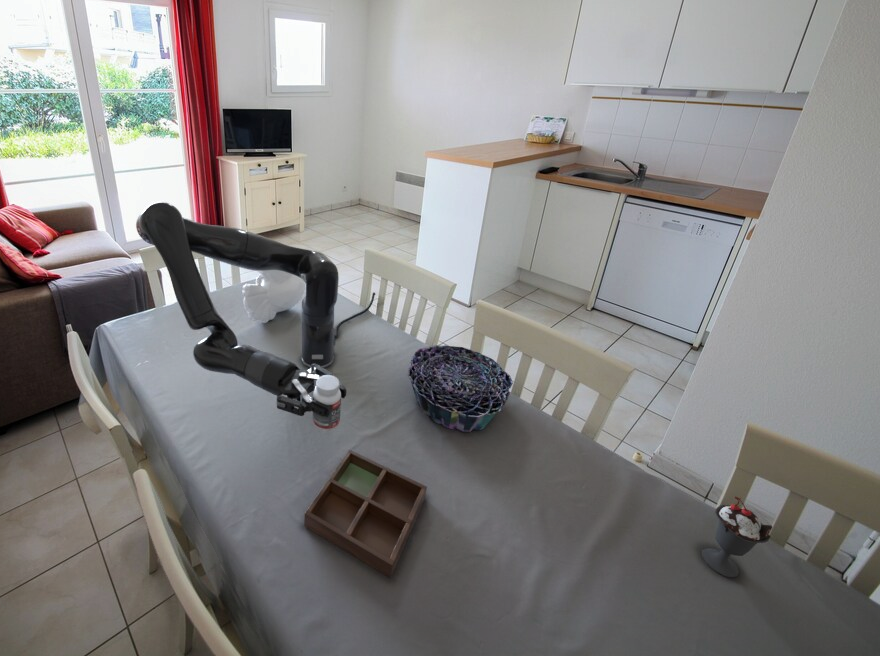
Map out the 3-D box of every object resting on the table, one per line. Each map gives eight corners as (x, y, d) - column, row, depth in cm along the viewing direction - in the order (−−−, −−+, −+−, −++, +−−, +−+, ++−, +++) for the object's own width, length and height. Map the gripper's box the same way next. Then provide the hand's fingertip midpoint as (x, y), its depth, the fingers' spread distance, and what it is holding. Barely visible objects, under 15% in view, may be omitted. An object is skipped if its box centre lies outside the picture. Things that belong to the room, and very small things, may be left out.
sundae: (685, 545, 78) (715, 485, 72) (719, 542, 78) (751, 483, 73) (719, 584, 72) (754, 523, 66) (755, 581, 72) (794, 520, 67)
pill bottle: (336, 433, 86) (338, 394, 82) (309, 428, 87) (309, 389, 83) (342, 413, 91) (344, 375, 87) (316, 408, 92) (316, 371, 88)
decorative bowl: (504, 387, 120) (510, 356, 117) (510, 456, 95) (518, 419, 92) (413, 367, 128) (416, 337, 125) (396, 426, 103) (400, 391, 100)
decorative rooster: (289, 275, 166) (249, 234, 151) (317, 280, 155) (277, 237, 140) (254, 330, 157) (207, 293, 142) (282, 340, 146) (234, 301, 131)
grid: (348, 460, 94) (349, 449, 93) (425, 498, 86) (427, 486, 84) (304, 526, 80) (304, 513, 79) (390, 578, 72) (392, 565, 70)
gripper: (248, 376, 86) (318, 409, 78) (290, 342, 98) (355, 368, 90) (249, 406, 89) (318, 440, 81) (290, 369, 100) (354, 397, 92)
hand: (337, 402), depth 85 cm, fingers closed on pill bottle, 5 cm apart
